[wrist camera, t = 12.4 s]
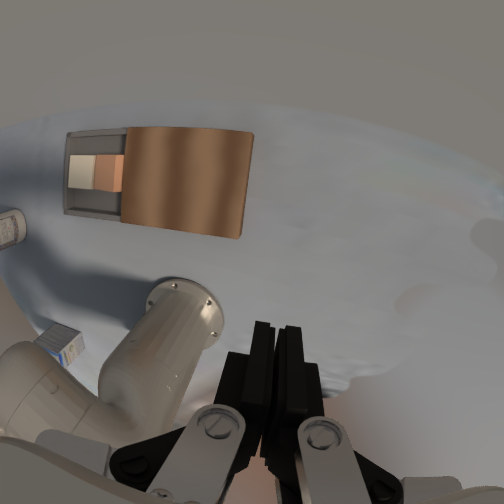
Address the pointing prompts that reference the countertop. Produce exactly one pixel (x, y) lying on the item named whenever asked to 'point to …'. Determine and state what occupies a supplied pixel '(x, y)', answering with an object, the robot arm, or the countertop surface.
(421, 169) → the countertop surface
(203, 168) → the walnut board
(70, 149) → the tray
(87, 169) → the cream tile
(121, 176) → the terracotta tile
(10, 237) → the bath foam
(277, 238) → the countertop surface
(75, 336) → the medicine box
